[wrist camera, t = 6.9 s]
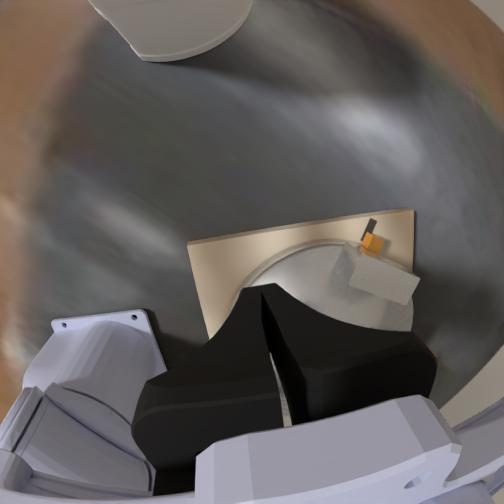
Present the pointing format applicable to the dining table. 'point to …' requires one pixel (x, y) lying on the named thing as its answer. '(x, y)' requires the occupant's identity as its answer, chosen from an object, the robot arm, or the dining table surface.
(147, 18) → the jar
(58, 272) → the dining table surface
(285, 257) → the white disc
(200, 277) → the nut base
